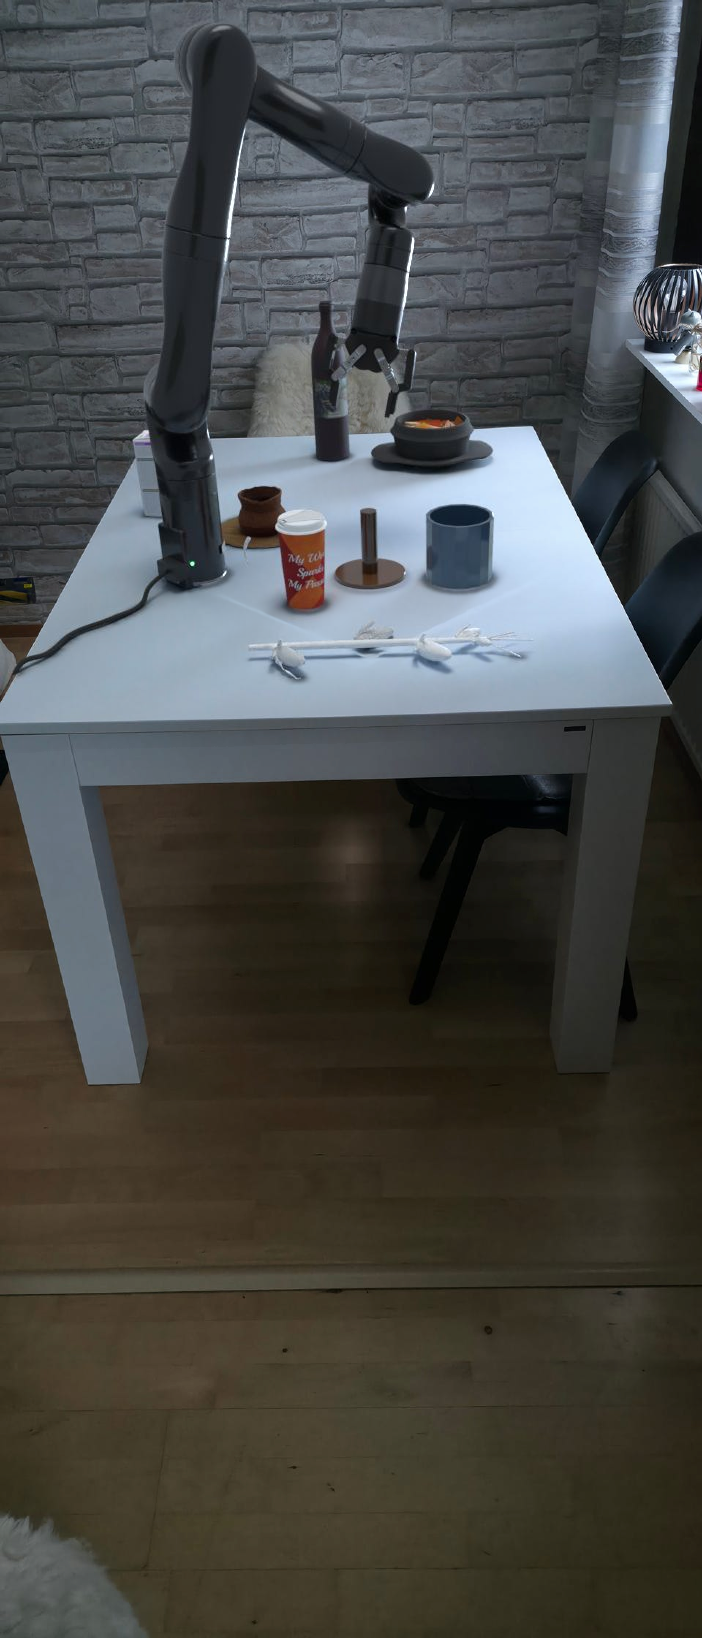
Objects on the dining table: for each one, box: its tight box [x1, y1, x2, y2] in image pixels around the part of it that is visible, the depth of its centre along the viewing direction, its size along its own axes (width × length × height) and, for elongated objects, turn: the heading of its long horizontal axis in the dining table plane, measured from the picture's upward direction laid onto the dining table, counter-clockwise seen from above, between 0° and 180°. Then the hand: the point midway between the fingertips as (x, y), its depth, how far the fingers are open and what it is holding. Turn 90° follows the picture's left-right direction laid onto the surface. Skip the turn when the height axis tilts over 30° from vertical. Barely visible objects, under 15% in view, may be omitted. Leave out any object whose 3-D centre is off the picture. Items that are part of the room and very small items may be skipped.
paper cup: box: [275, 509, 328, 611], centre depth 169 cm, size 8×8×14 cm
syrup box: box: [132, 429, 162, 518], centre depth 207 cm, size 6×6×14 cm
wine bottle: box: [310, 300, 351, 462], centre depth 227 cm, size 7×7×30 cm
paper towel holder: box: [334, 507, 407, 590], centre depth 178 cm, size 11×11×11 cm
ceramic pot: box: [221, 485, 287, 549], centre depth 199 cm, size 18×18×7 cm
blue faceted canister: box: [425, 503, 495, 590], centre depth 177 cm, size 10×10×10 cm
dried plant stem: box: [243, 537, 535, 680], centre depth 154 cm, size 12×19×40 cm
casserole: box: [370, 409, 494, 469], centre depth 228 cm, size 25×19×8 cm
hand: (360, 412), depth 176 cm, fingers open, 8 cm apart
